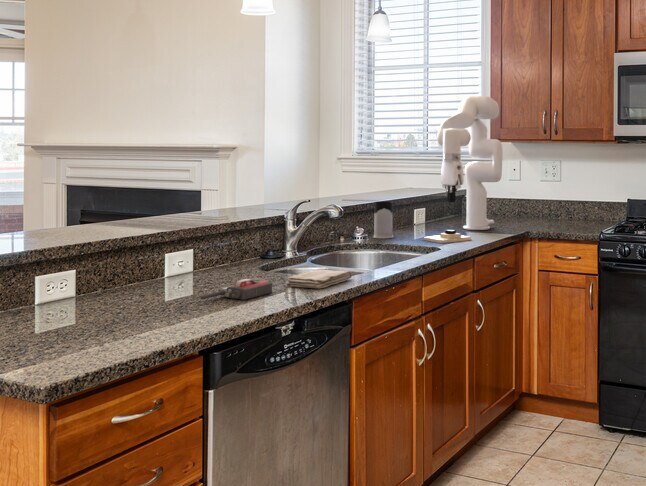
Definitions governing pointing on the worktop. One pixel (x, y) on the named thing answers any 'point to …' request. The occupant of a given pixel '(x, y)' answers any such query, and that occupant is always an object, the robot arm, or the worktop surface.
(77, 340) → the worktop surface
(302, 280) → the washcloth
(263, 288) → the walkie-talkie
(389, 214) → the glass holder
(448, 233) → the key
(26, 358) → the worktop surface
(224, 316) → the worktop surface
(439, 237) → the beige flat slab
